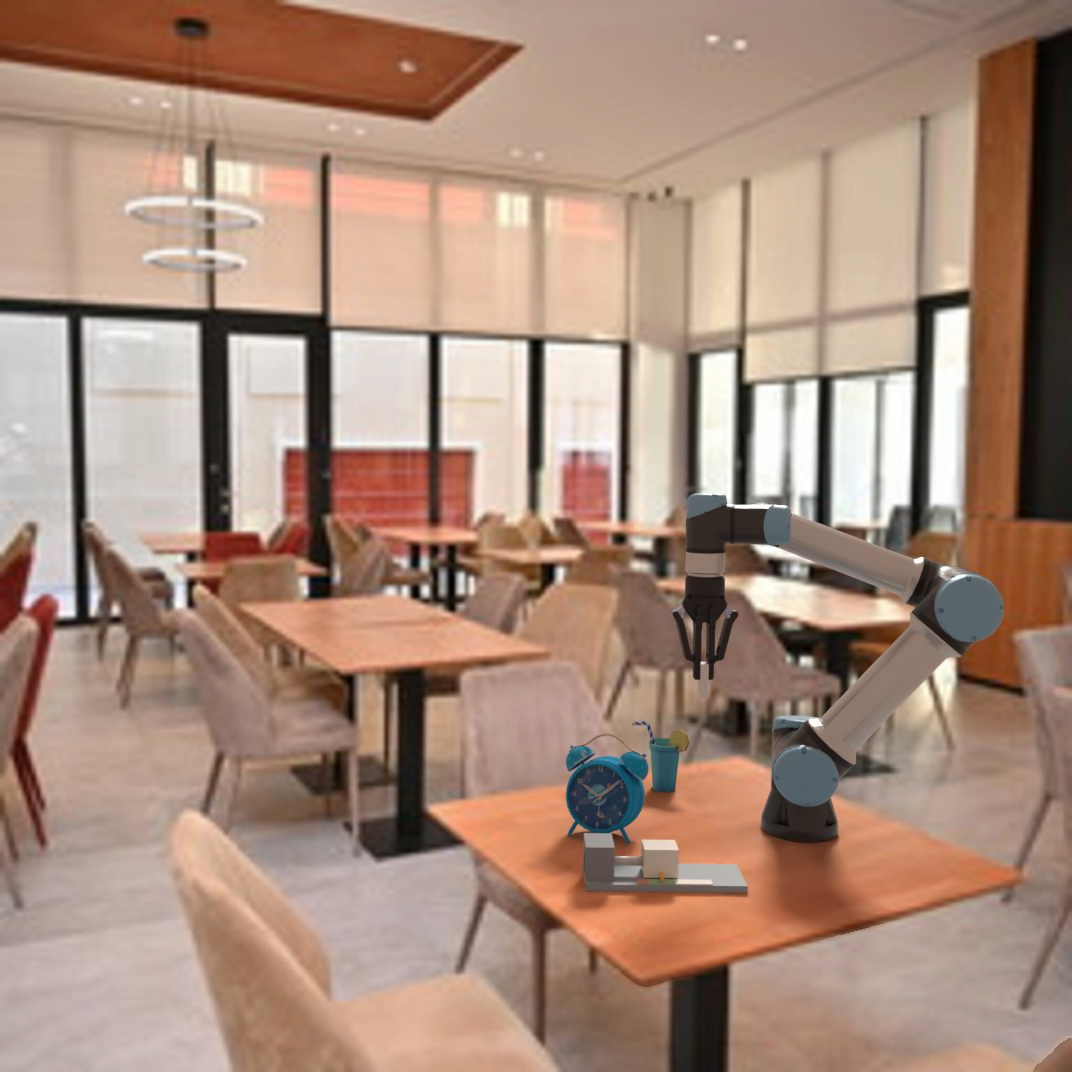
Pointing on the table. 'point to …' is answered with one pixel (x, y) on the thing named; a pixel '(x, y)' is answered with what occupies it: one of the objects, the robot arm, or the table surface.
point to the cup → (665, 758)
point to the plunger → (654, 859)
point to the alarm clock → (605, 789)
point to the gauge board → (631, 879)
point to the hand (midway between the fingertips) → (702, 696)
